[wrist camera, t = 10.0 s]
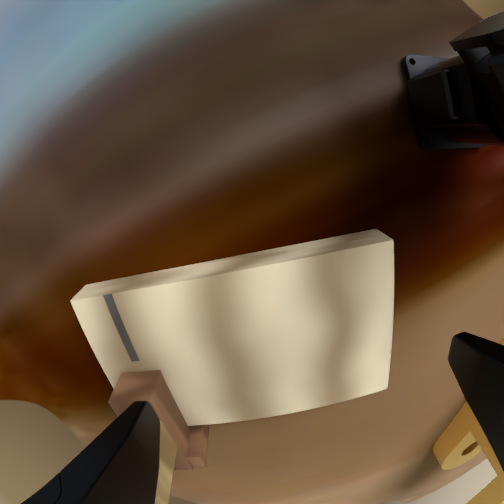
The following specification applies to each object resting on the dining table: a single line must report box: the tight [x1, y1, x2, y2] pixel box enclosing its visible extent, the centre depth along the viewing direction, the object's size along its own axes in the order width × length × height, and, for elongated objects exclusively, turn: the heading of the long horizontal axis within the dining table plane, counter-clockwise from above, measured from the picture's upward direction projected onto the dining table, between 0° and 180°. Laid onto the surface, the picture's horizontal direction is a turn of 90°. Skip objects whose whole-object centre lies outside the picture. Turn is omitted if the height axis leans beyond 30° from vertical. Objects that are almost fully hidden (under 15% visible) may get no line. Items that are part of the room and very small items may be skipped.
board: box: [70, 229, 394, 426], centre depth 20 cm, size 20×12×2 cm, turn 101°
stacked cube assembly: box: [108, 370, 209, 504], centre depth 17 cm, size 5×8×10 cm, turn 11°
